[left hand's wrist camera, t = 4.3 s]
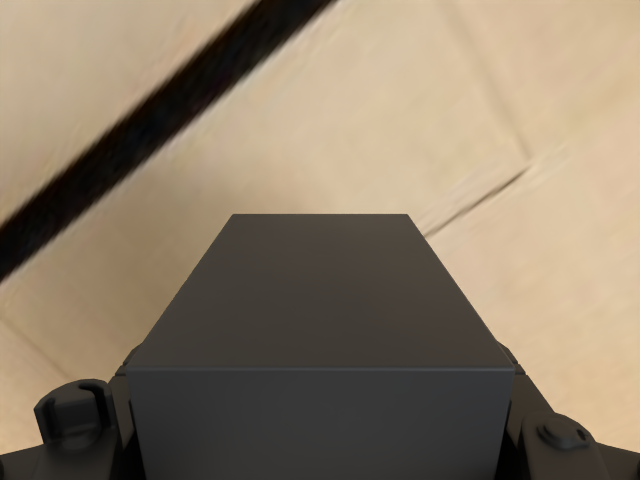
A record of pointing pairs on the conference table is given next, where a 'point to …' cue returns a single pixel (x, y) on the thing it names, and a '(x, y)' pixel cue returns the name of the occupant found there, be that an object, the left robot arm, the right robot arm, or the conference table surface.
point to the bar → (320, 360)
